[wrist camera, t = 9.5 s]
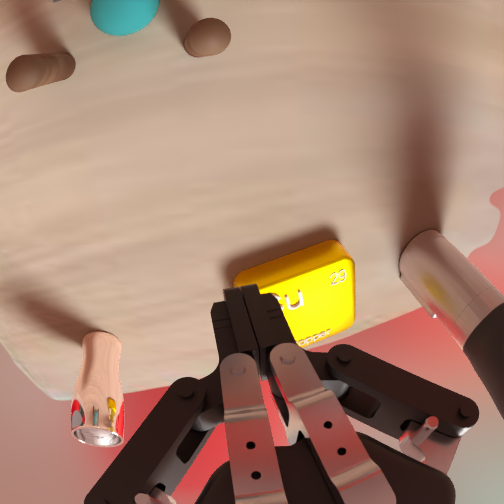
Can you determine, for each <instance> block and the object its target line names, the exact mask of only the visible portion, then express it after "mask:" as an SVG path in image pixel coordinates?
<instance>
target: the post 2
mask: <svg viewBox="0 0 504 504" xmlns="http://www.w3.org/2000/svg"><path fill="white" fill-rule="evenodd" d="M230 40H231V33H230V29H229V28H228V26H227V25H226V24H225V23H224V22H223V21H221V20H219V19H215V18H206V19H202V20H200V21H198V22H197V23H196V24H194V26H193V27H192V28H191V30H190V32H189V34H188V35H187V37H186V39H185V42H184V48H185V50H186V52H187V53H188V54H189V55H191V56H193V57H204V56H211V55H216V54H219V53H221V52H222V51H224V50H225V49H226V48H227V46H228V45H229V43H230Z"/></svg>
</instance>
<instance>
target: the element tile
mask: <svg viewBox="0 0 504 504" xmlns="http://www.w3.org/2000/svg"><path fill="white" fill-rule="evenodd" d="M255 283H256V284H257V286H258V289H259V291H260V294H265V293H271V294H272V295H273V296H274V297H276V298H277V299H278V301H279V304H280V306H281V309H282V311H283V313H284V316H285V318H286V320H287V322H288V325H289V327H290V329H291V332H292V334H293V336H294V339H295V341H296V343H297V344H298V345H299V346H300V347H301V348H302V347H305V346H308V345H310V344H313V343H315V342H318V341H320V340H323V339H325V338H328V337H330V336H333V335H335V334H338V333H340V332H342V331H344V330H346V329H348V328H350V327H351V326H352V325H353V323H354V321H355V263H354V261H353V259H352V258H351V256H350V255H349V254H348V253H347V251H346V250H345V249H344V247H343V246H342V245H341V244H340V242H338V241H336V240H328V241H324V242H322V243H319V244H316V245H313V246H311V247H308V248H305V249H302V250H300V251H297V252H294V253H291V254H288V255H286V256H283V257H280V258H277V259H274V260H272V261H269V262H266V263H263V264H260V265H258V266H255V267H252V268H249V269H246V270H244V271H242V272H241V273H239V274H238V275H237V276H236V277H235V279H234V283H233V286H234V287H240V286H245V285H250V284H255Z"/></svg>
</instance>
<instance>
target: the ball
mask: <svg viewBox="0 0 504 504" xmlns="http://www.w3.org/2000/svg"><path fill="white" fill-rule="evenodd" d="M158 7H159V0H92V2H91V7H90V14H91V18H92V21H93V23H94V24H95V26H96V27H97V28H98V29H100V30H101V31H103V32H104V33H107V34H110V35H116V36H122V35H128V34H132V33H134V32H137V31H139V30H140V29H142V28H144V27H145V26H146V25H147V24H148V23H149V22H150V21H151V20H152V19H153V18H154V16H155V14H156V12H157V10H158Z"/></svg>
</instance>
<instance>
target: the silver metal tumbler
mask: <svg viewBox="0 0 504 504" xmlns="http://www.w3.org/2000/svg"><path fill="white" fill-rule="evenodd" d="M82 348H83V360H82V365H81V368H80V371H79V374H78V377H77V380H76V384H75V387H74V391H73V396H72V405H71V434H72V436H73V437H74V438H75V439H76V440H78V441H80V442H82V443H85V444H88V445H92V446H97V447H115V446H119V445H121V444H122V443H123V441H124V400H123V393H122V387H121V382H120V376H119V359H120V356H121V352H122V344H121V342H120V341H119V339H118V338H116V337H115V336H114V335H112V334H110V333H107V332H102V331H94V332H90V333H88V334H86V335H85V336H84V338H83V341H82Z"/></svg>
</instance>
